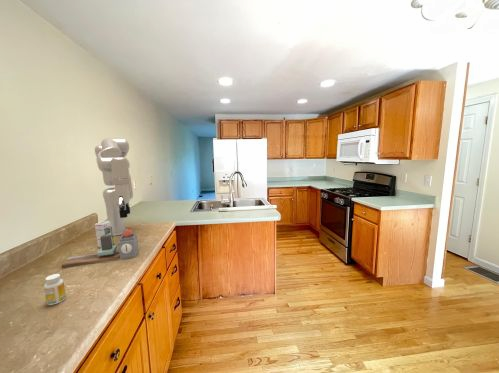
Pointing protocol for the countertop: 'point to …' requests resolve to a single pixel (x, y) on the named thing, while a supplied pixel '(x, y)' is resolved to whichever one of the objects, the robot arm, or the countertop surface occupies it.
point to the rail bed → (90, 259)
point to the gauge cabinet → (128, 246)
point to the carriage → (106, 246)
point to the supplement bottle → (54, 289)
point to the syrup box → (103, 230)
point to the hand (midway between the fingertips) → (125, 215)
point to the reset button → (127, 233)
